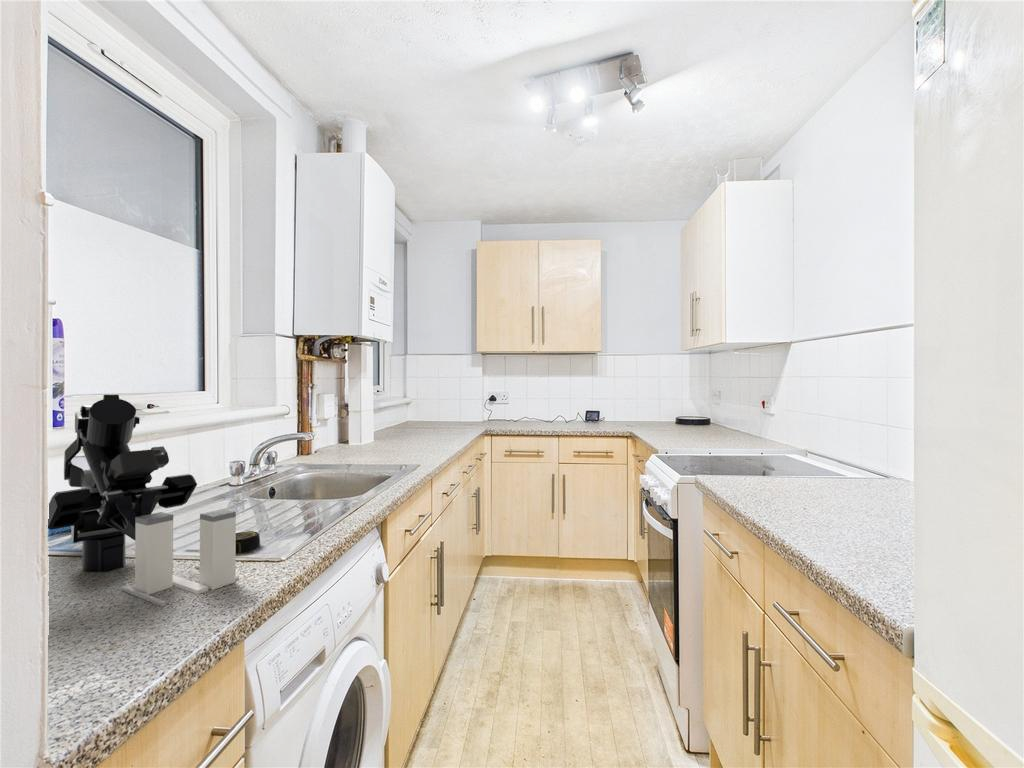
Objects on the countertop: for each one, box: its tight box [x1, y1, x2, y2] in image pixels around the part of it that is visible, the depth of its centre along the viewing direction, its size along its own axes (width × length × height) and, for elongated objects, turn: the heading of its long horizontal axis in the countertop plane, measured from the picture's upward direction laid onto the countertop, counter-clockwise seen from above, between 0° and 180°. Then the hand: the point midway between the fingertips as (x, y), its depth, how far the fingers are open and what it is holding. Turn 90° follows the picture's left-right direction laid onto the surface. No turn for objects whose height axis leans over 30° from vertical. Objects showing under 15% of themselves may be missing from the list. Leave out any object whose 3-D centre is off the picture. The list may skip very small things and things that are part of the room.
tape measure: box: [236, 530, 261, 555], centre depth 94 cm, size 7×7×4 cm
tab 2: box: [199, 508, 237, 591], centre depth 77 cm, size 4×4×11 cm
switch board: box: [121, 564, 240, 607], centre depth 77 cm, size 14×11×2 cm
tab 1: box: [134, 511, 174, 595], centre depth 75 cm, size 4×4×11 cm
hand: (144, 542), depth 76 cm, fingers closed
